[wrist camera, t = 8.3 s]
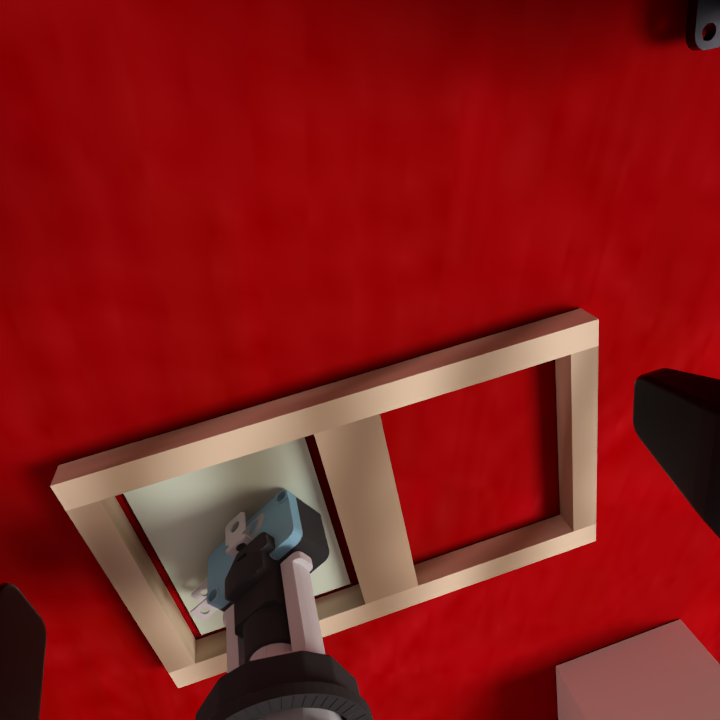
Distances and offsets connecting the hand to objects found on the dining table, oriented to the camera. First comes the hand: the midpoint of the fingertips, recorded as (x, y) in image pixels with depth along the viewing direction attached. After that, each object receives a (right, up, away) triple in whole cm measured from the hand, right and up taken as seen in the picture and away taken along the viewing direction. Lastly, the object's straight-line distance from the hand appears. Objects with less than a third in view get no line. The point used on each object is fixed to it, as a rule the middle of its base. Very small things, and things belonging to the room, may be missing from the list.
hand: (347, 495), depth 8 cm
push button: (-5, -6, +16) cm, 17 cm away
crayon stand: (+18, -21, +29) cm, 40 cm away
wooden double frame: (0, -4, +16) cm, 17 cm away
